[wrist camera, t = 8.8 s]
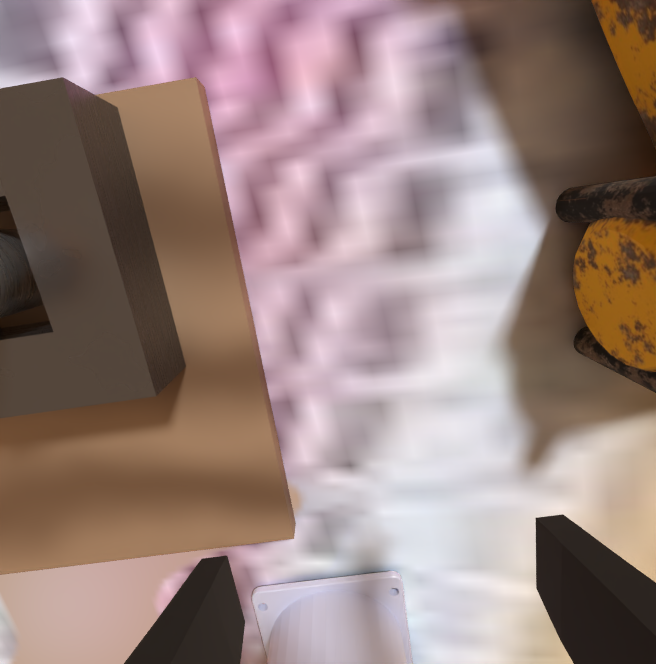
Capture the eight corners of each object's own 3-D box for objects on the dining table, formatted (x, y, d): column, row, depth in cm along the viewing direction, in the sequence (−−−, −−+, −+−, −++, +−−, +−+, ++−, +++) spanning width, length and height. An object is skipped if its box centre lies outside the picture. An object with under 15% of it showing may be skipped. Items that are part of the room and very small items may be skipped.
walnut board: (295, 523, 20) (293, 538, 19) (-3, 560, 21) (-19, 577, 20) (204, 86, 15) (195, 77, 14) (-192, 155, 15) (-227, 151, 14)
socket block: (186, 366, 17) (156, 396, 14) (-37, 398, 17) (-111, 434, 14) (117, 107, 14) (62, 77, 11) (-144, 152, 14) (-262, 135, 12)
